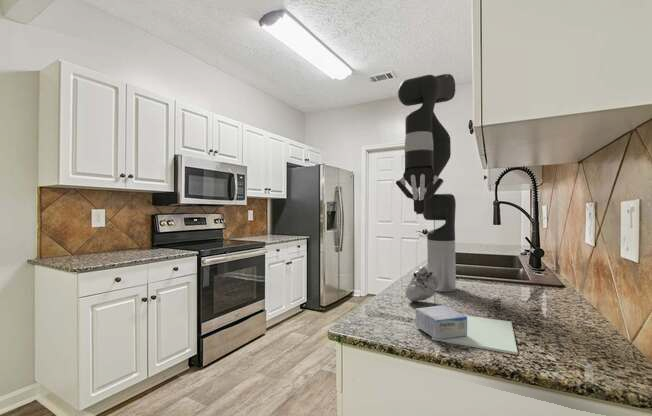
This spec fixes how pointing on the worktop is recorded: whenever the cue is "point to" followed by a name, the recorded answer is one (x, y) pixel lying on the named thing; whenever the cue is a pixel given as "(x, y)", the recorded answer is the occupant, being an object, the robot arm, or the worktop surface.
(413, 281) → the heart
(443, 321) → the medicine box
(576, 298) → the worktop surface
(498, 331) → the cutting board
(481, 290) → the worktop surface
